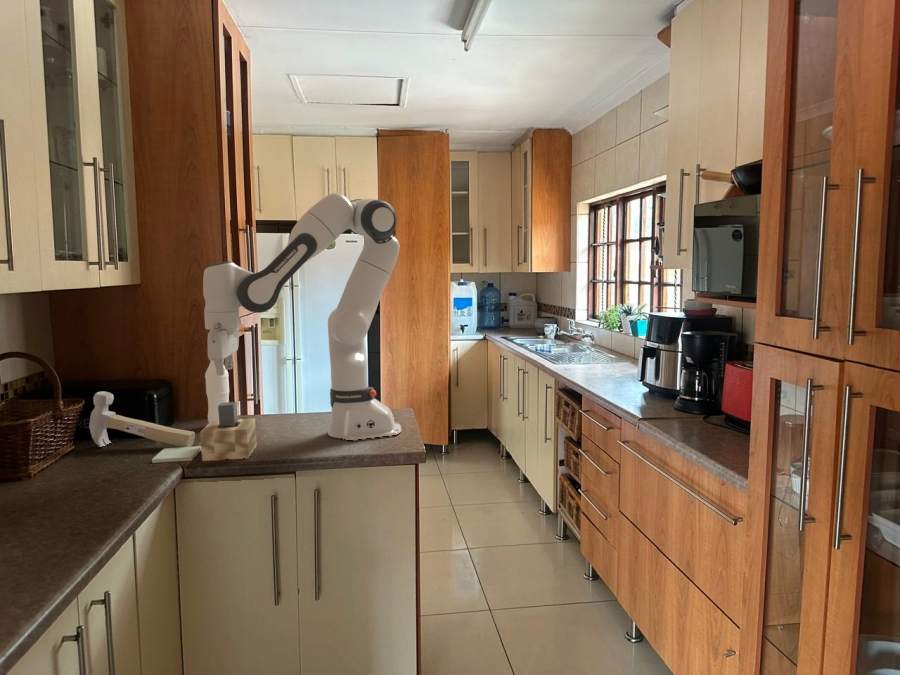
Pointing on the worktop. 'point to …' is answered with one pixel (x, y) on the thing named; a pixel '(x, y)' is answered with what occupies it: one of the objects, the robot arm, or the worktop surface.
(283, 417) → the worktop surface
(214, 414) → the water bottle
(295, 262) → the robot arm
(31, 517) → the worktop surface
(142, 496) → the worktop surface
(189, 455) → the pad
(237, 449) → the socket block
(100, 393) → the hammer
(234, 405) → the peg
